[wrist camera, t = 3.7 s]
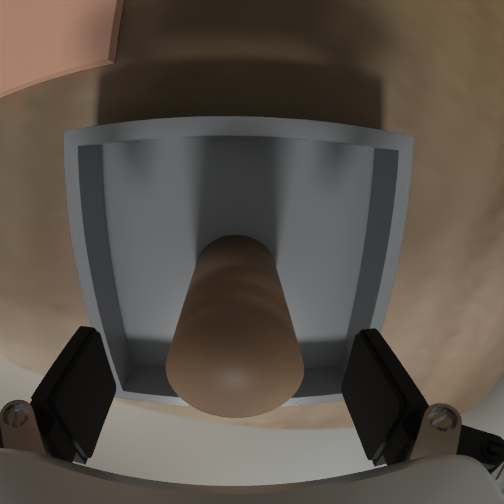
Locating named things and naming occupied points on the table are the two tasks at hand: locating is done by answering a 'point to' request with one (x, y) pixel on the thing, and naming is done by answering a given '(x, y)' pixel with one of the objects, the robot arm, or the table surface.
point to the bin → (235, 231)
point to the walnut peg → (235, 334)
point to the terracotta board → (55, 39)
